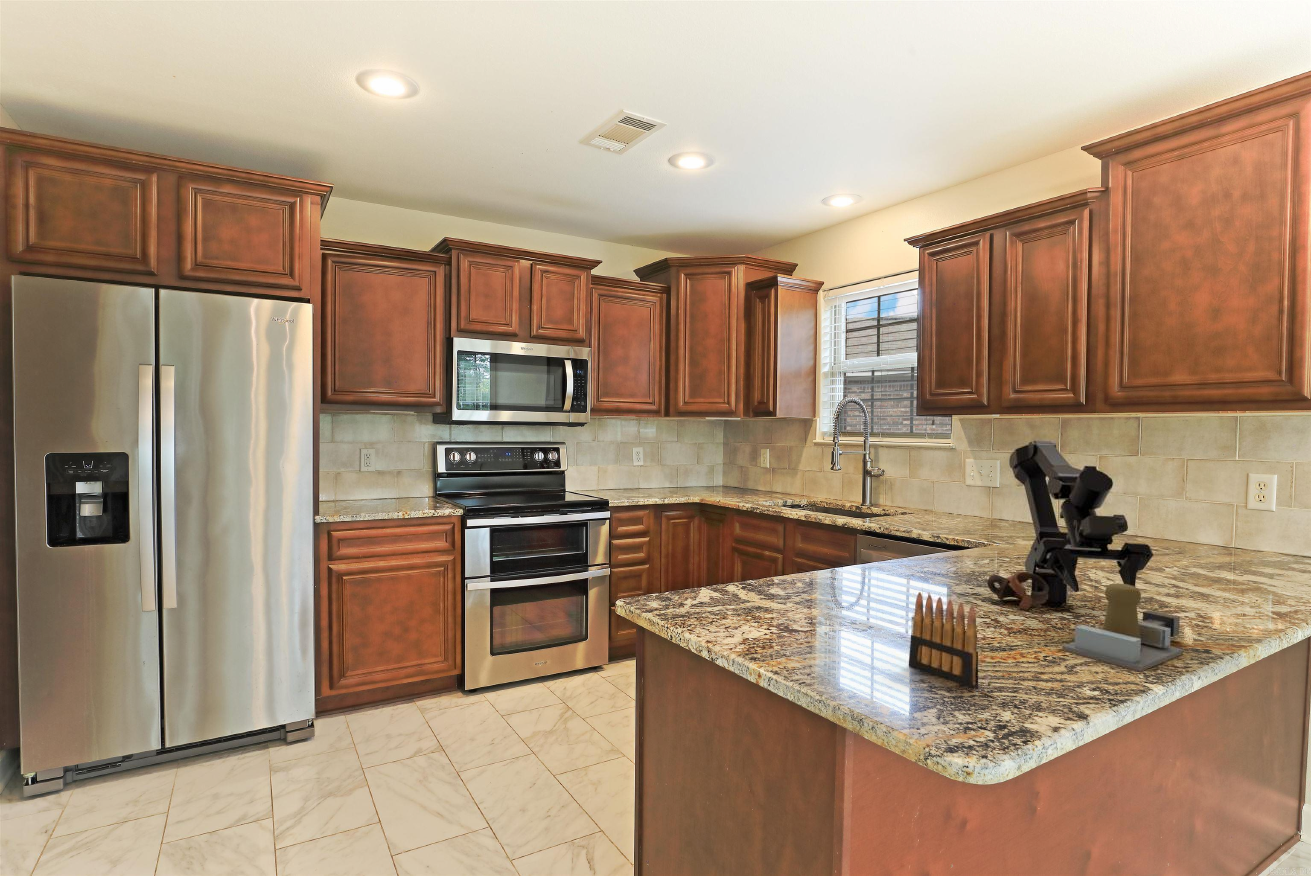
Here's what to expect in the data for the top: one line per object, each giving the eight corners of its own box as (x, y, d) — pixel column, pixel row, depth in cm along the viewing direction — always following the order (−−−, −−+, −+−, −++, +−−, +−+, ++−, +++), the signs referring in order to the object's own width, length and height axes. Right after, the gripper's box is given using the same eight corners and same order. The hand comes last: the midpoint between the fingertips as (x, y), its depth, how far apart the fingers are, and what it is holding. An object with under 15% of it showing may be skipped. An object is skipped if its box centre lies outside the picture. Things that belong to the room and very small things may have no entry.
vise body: (1140, 671, 112) (1141, 645, 112) (1062, 650, 122) (1063, 625, 122) (1200, 646, 126) (1201, 622, 126) (1125, 629, 136) (1126, 607, 136)
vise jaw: (1163, 648, 120) (1164, 629, 120) (1106, 634, 128) (1107, 616, 128) (1191, 637, 127) (1192, 619, 127) (1135, 625, 135) (1136, 607, 135)
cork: (1150, 652, 119) (1153, 588, 119) (1119, 653, 118) (1122, 589, 118) (1121, 641, 125) (1124, 580, 125) (1091, 642, 124) (1094, 580, 124)
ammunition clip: (908, 666, 111) (911, 591, 111) (915, 664, 113) (918, 590, 112) (971, 688, 103) (975, 607, 102) (978, 685, 104) (981, 605, 103)
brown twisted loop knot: (1035, 602, 157) (1051, 575, 153) (1039, 631, 149) (1055, 603, 145) (980, 584, 160) (993, 557, 156) (980, 611, 152) (994, 583, 148)
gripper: (1043, 496, 135) (1062, 565, 124) (1151, 501, 131) (1180, 572, 121) (1027, 530, 143) (1044, 597, 132) (1128, 535, 139) (1154, 605, 129)
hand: (1104, 592), depth 128 cm, fingers open, 9 cm apart
